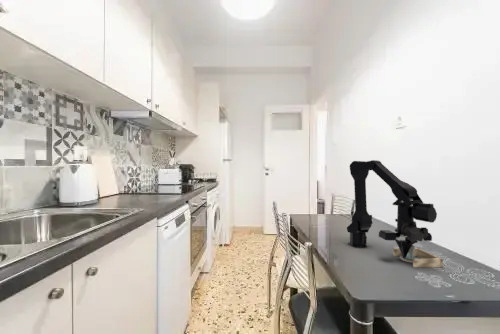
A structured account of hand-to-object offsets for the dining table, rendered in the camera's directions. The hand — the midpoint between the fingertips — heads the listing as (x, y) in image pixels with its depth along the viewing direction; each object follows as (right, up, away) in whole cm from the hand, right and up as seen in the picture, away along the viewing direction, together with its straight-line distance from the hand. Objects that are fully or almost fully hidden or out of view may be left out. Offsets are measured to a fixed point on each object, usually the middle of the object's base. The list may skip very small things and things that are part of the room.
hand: (404, 256), depth 111 cm
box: (+5, -2, 0) cm, 5 cm away
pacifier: (+2, -2, +1) cm, 3 cm away
